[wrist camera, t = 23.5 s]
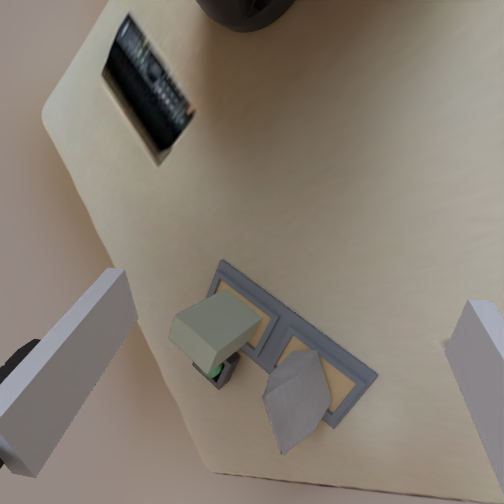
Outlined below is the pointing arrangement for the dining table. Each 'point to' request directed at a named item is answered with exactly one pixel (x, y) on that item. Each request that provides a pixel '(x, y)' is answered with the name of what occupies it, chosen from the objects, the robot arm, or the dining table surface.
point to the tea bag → (296, 398)
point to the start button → (215, 371)
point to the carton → (214, 329)
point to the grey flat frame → (295, 342)
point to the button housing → (226, 373)
